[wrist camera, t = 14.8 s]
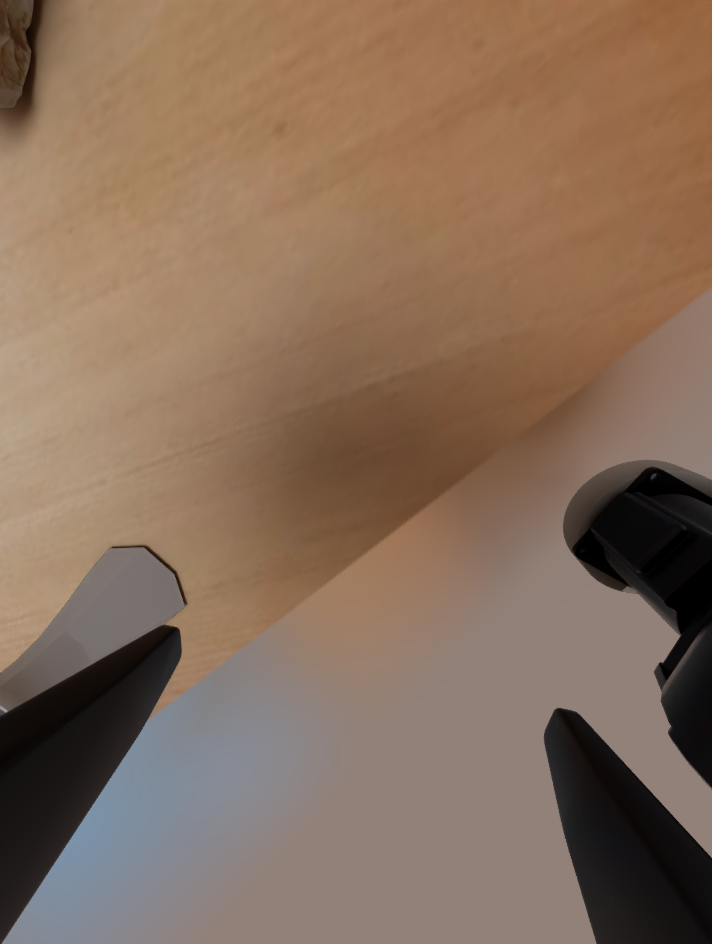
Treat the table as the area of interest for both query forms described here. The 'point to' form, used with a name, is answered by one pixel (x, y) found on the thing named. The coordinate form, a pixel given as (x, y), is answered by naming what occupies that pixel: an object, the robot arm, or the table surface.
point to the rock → (13, 49)
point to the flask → (95, 622)
